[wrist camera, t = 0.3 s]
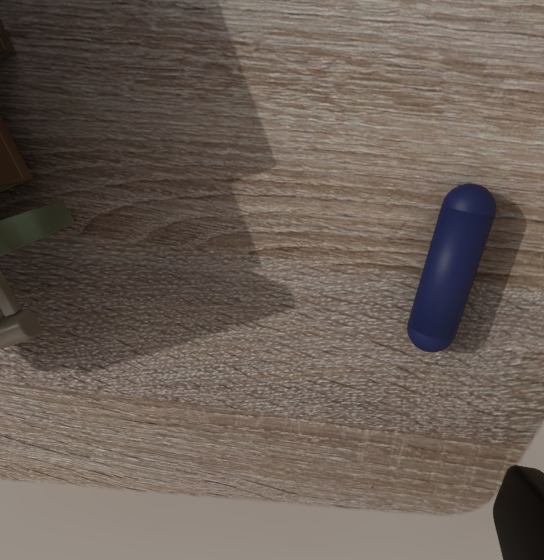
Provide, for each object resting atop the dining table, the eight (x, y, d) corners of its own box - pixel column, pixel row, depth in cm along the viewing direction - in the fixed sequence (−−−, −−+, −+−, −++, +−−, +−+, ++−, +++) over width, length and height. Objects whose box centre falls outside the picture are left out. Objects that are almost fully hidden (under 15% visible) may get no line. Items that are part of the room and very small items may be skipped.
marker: (441, 343, 24) (454, 364, 22) (398, 335, 24) (407, 355, 22) (491, 185, 21) (511, 192, 19) (443, 176, 21) (458, 182, 19)
